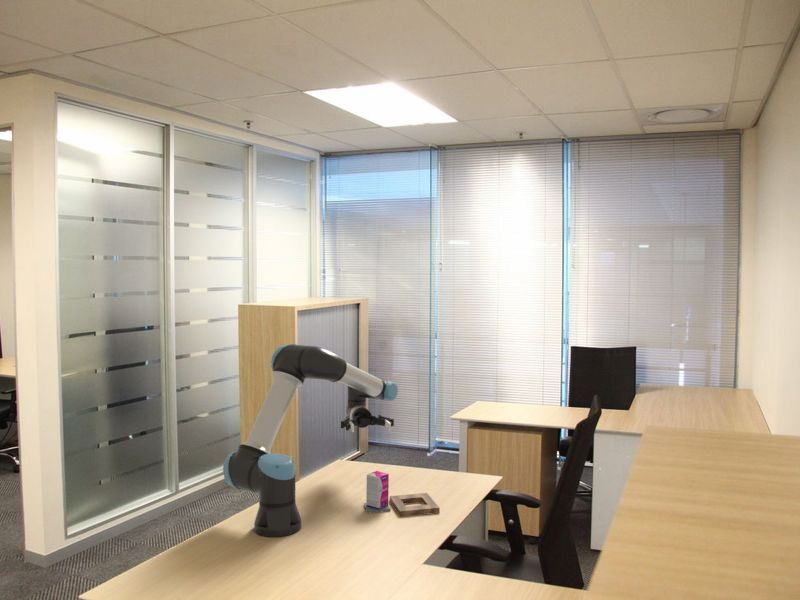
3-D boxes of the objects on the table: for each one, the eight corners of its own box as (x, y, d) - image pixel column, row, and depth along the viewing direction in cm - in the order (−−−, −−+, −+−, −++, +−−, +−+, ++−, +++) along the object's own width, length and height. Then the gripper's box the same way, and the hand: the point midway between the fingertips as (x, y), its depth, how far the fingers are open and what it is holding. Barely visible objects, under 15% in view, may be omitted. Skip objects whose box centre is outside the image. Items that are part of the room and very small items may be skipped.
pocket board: (400, 516, 237) (400, 511, 237) (389, 501, 252) (389, 496, 252) (439, 512, 240) (439, 507, 240) (426, 497, 256) (426, 492, 255)
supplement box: (378, 509, 241) (378, 477, 240) (365, 506, 245) (365, 474, 244) (389, 505, 246) (389, 473, 245) (376, 501, 249) (376, 470, 249)
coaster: (367, 513, 240) (367, 510, 240) (363, 505, 248) (363, 503, 248) (390, 511, 242) (390, 508, 242) (385, 503, 250) (385, 501, 250)
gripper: (391, 424, 277) (404, 436, 257) (329, 427, 271) (337, 439, 251) (391, 405, 277) (404, 416, 256) (329, 408, 271) (337, 419, 251)
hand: (371, 428), depth 254 cm, fingers open, 13 cm apart
